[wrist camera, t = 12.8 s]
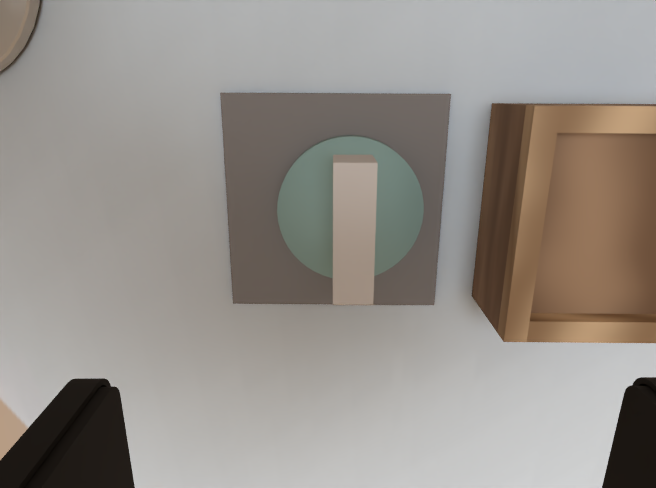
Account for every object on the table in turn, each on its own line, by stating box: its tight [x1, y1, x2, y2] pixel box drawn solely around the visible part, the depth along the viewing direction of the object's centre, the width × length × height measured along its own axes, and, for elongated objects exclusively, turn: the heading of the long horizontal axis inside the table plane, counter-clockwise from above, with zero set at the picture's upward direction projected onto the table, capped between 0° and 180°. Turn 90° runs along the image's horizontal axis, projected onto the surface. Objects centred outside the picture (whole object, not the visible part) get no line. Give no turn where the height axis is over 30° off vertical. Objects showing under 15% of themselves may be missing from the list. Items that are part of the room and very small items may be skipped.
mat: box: [220, 93, 451, 305], centre depth 29 cm, size 13×13×1 cm
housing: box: [472, 103, 656, 343], centre depth 26 cm, size 14×12×6 cm
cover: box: [277, 135, 424, 305], centre depth 25 cm, size 8×8×7 cm
